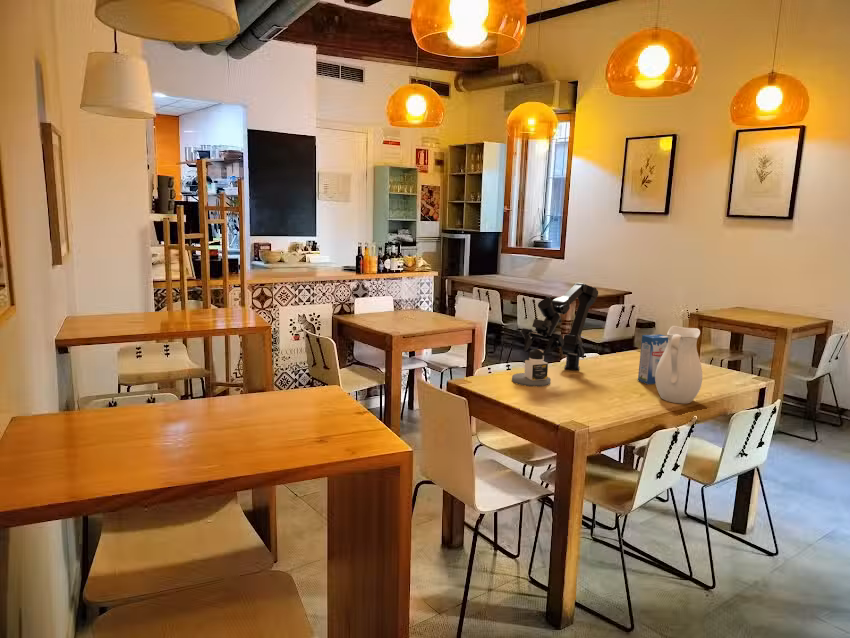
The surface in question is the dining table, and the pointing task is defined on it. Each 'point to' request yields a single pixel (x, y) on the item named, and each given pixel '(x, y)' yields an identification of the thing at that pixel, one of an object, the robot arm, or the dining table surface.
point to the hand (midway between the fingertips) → (533, 353)
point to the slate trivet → (524, 380)
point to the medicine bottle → (536, 366)
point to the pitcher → (679, 366)
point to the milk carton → (651, 356)
